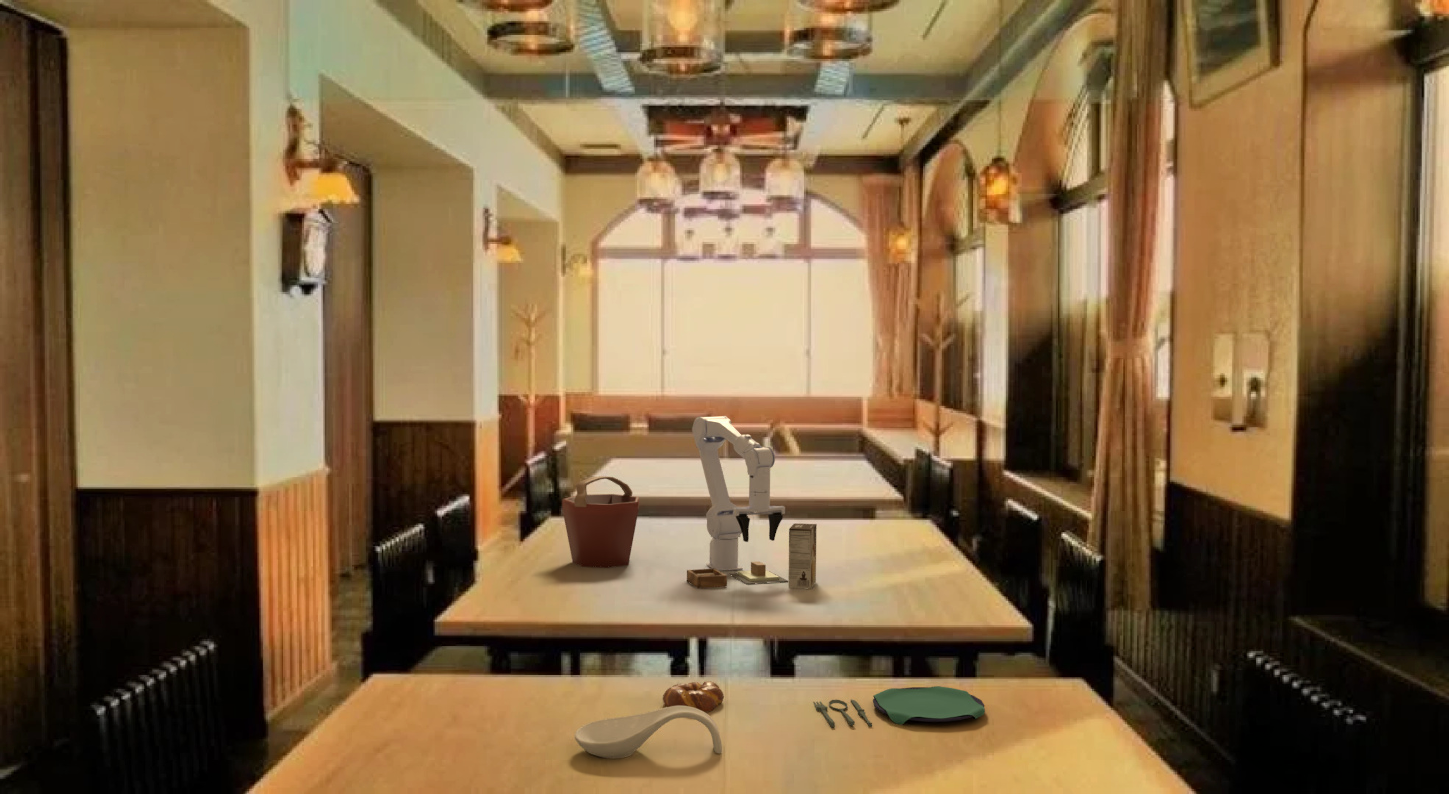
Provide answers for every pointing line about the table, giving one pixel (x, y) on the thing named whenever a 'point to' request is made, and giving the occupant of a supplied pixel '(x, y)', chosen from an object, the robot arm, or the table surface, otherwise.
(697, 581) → the box
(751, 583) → the mat
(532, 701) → the table surface
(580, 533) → the bucket
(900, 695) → the cutlery set
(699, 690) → the pretzel
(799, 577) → the coffee box
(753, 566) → the lid
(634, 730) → the spoon rest
